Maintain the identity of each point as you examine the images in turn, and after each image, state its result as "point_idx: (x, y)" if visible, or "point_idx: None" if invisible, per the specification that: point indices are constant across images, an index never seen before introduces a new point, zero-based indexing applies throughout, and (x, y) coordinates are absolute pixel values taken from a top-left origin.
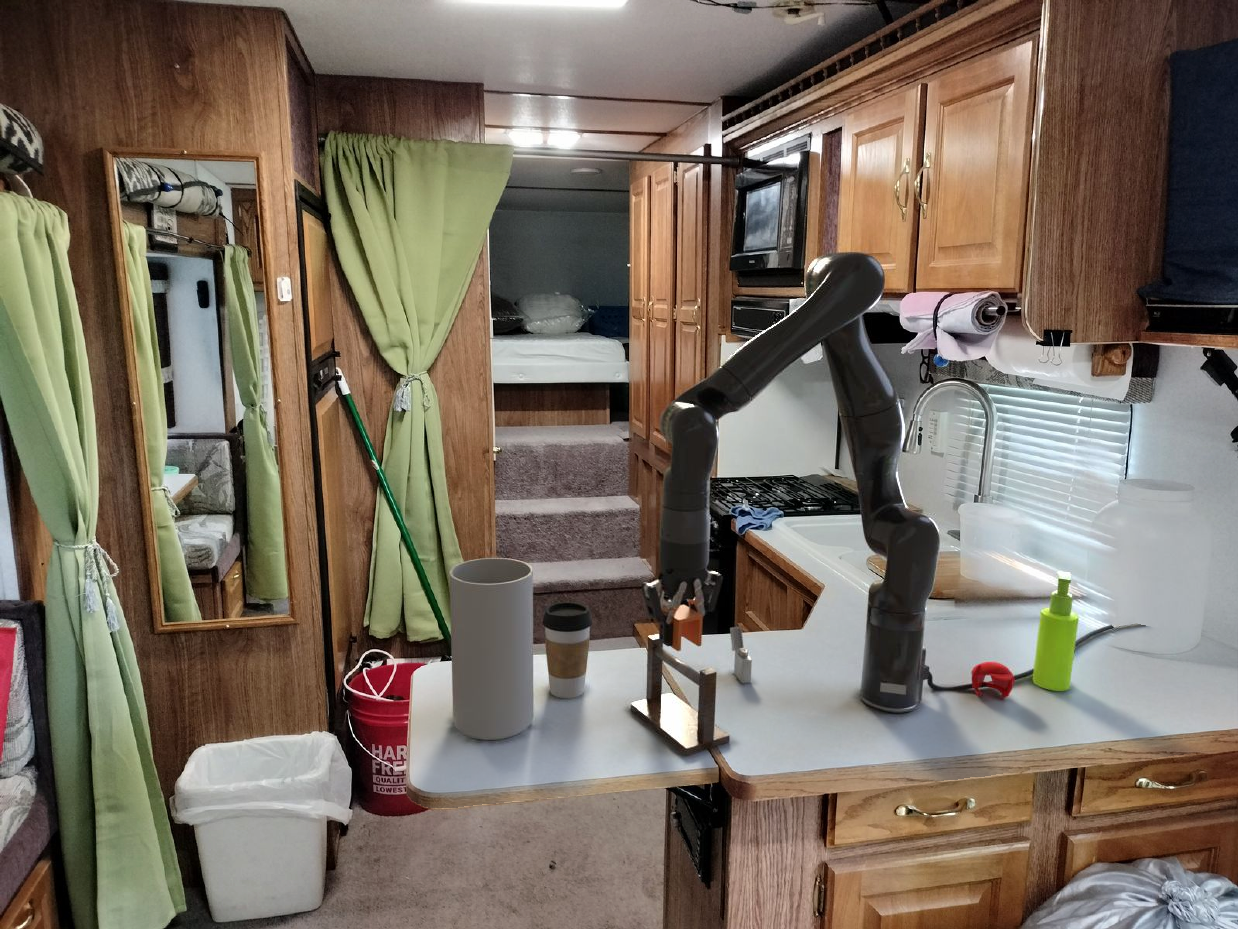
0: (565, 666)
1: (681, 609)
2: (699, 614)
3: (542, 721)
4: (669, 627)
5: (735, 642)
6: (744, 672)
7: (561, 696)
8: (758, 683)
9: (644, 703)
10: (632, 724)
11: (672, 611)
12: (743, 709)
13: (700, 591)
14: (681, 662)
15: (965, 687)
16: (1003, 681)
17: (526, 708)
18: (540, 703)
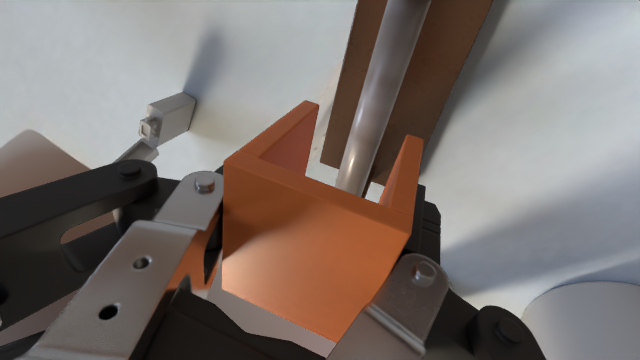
0: None
1: (269, 280)
2: (233, 181)
3: (544, 272)
4: (419, 243)
5: (142, 157)
6: (178, 104)
7: (450, 284)
8: (173, 80)
9: (386, 174)
10: (448, 155)
11: (398, 317)
12: (250, 34)
13: (79, 313)
14: (364, 136)
15: None
16: None
17: (625, 316)
18: (487, 297)
